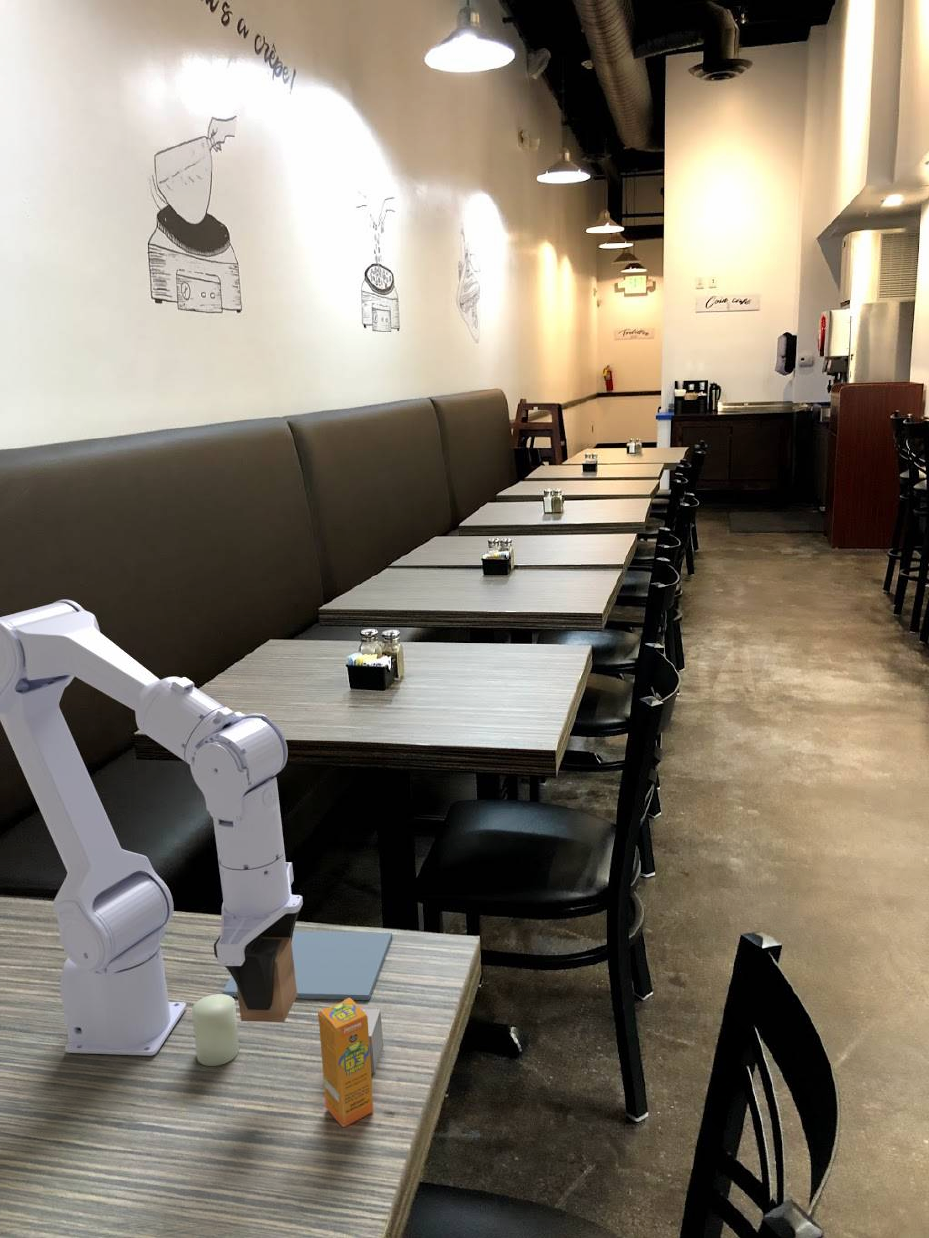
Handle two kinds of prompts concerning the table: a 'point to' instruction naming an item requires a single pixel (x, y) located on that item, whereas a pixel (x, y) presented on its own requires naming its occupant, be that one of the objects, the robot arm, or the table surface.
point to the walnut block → (276, 988)
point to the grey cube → (374, 1036)
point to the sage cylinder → (215, 1029)
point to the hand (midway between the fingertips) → (267, 992)
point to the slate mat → (334, 964)
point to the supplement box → (346, 1061)
